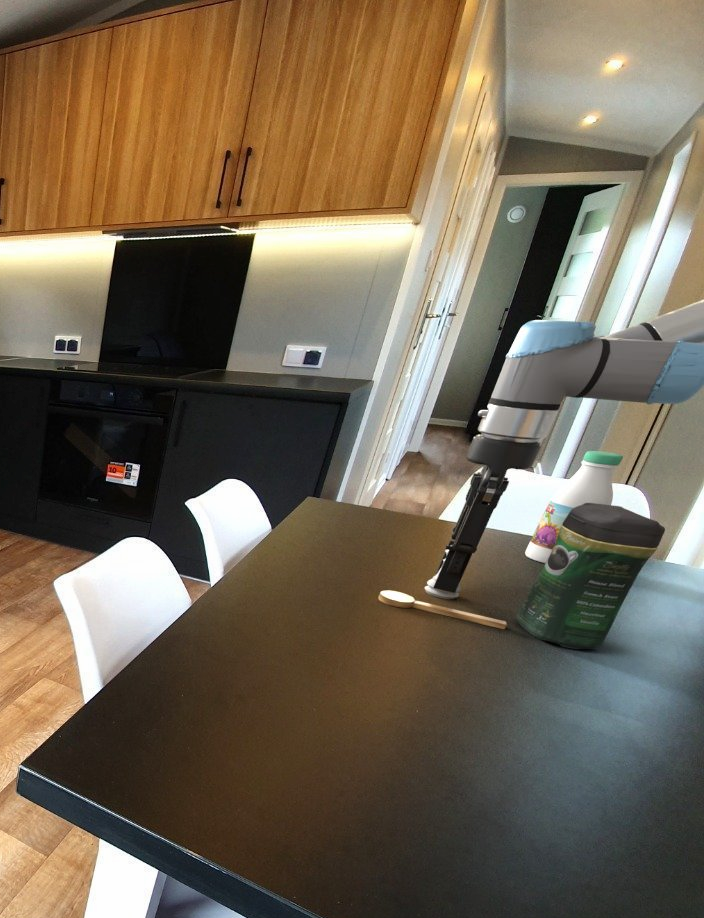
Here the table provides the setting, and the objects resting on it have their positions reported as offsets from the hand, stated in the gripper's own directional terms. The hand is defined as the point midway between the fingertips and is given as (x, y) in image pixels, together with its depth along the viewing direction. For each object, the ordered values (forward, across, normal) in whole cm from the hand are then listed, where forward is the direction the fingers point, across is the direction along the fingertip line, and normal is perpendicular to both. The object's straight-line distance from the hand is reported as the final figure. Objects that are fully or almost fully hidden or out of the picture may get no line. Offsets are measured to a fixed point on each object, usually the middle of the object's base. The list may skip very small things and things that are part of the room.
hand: (444, 584), depth 101 cm
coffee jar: (+2, +7, +13) cm, 15 cm away
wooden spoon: (+2, +9, -1) cm, 9 cm away
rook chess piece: (+2, 0, 0) cm, 2 cm away
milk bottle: (+2, -35, +16) cm, 39 cm away
